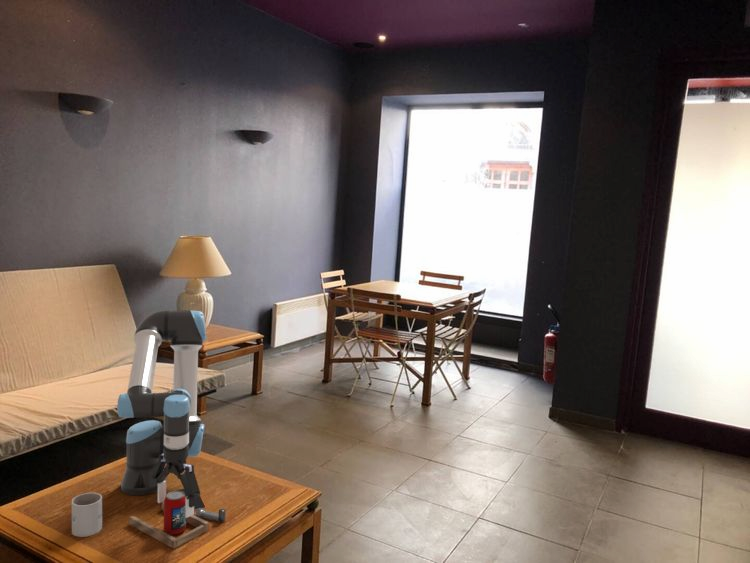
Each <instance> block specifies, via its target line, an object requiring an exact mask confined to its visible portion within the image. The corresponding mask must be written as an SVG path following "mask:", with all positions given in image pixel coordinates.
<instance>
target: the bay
mask: <svg viewBox="0 0 750 563" xmlns="http://www.w3.org/2000/svg"><path fill="white" fill-rule="evenodd" d="M161 511H164V501H163V502H161ZM186 523H188V524H191V525H192V526H195V528H193V529H191V530H190V531H188V532H186V533H184V534H182V535H179V536H178V537H174V536H173V535H171V534H169V533H166V532H165V531H164V530H161V529H159V528H157V527H155V526H153V525H151V524H149V523H148V522H146V521H144V520H142V519H140V518H138V517H137V516H135V515H131V516H129V525H130V526H132V527H133V528H135V529H137V530H139V531H141V532H142V533H144V534H146V535H148V536H150V537H151V538H154V539H156V540H157V541H159V542H161V543H162V544H164V545H166V546H168V547H170V548H172V549H176V548H178V547H180V546H181V545H183V544H185V543H187V542H189V541H191V540H193V539H194V538H197V537H198V536H200V535H202V534H204V533H206V532H208V531H209V529H210V522H209V521H207V520H205V519H203V518H202V517H197V516H196V514H193V515H191V516H189V517H188V518H187V517H186Z"/></svg>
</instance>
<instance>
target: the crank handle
mask: <svg viewBox="0 0 750 563" xmlns="http://www.w3.org/2000/svg"><path fill="white" fill-rule="evenodd" d="M226 511H227V510H226V509H225V508H220V509H218V513H217V512H214V511H213V512H212V511H209V510H206V509H203V508H198V509H197V510H196V511H195V516H197V517H199V518H202V519H203V518H204V519H208V520H212V521H216V522H218V523H225V522H226V514H227V513H226Z"/></svg>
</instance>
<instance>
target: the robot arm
mask: <svg viewBox="0 0 750 563" xmlns="http://www.w3.org/2000/svg"><path fill="white" fill-rule="evenodd" d="M206 332H207V330H206V323H205V315H204V312H202V311H201V310H200V311H199V310H183V309H182V310H166V309H165V310H164V309H163V310H157V311H154V312H152V313H151V314H148V315H147V316H146V317H145V318H144V319H143V320H142V321H141V322H140V323H139V324H138V326H137V328H136V330H135V333H134V336H133V342H134V344H135V346H134V354H133V358H132V364H131V369H130V374H129V381H128V386H127V392H124V393H121V394H120V395H119V396H118V398H117V404H116V405H117V406H116V407H117V411H116V412H117V415H118V416H119V418H124V419H125V418H126V419H127V418H129V419H131V418H132V419H133V418H150V417H151V418H153V417H155V418H156V417H158V418H159V417H163V425H162V423H161V421H159V420H155V419H154V420H153V419H152V420H145V421H140V422H138V423H135V424H133V425H132V426H130V427H129V429H127V432H126V439H125V443H126V446H125V447H126V457H125V458H126V462H125V463H126V466H125V471H124V473H123V476H122V480H121V482H120V483H121V484H120V490H121V492H123V493H124V494H127V495H131V496H145V495H150V494H155V493H157V503H158V504H160V503H161V504H162V502H164V500H165V498H166V496H167V479H166V478H168V476H169V475H170V474H174V475H175V476H176V478H177V479H179V480H180V483H181V485H182V487H183V489H184V490H185V492H186V494H187V497H186V512H185V517H187V518H188V517H189V516H191V515H195V511H194V506H195V497H197V496H199V495H201V490H200V488H199V483H198V480H197V477H196V474H195V466H194V464H193V463H190V464H187V459H188V458H193V457H195V458H196V457H198V456H199V455H200V454H201V449H202V444H203V437H204V433H205V432H204V431H205V424H204V423H201V421H202V420H201V418H200V416H198V415H197V408H198V406H197V405H198V372H199V351H200V350H201V349H202V347H203V345H204V344H203V343H204V342H206V341H207V333H206ZM162 342H170V343H169V344H170V345H169V346H170V348H172V350H173V352H174V354H173V383H172V386H173V387H172V391H171V392H153V386H154V380H155V379H154V378H155V370H156V365H157V358H158V357H157V356H158V350H159V347H160V345H161V346H162ZM190 492H191V494H190Z"/></svg>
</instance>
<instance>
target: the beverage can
mask: <svg viewBox="0 0 750 563" xmlns="http://www.w3.org/2000/svg"><path fill="white" fill-rule="evenodd" d="M163 502H164V510H163V532H165V533H167V534H169V535H178V534H181V533H182V532H184V531H185V529H186V528H187V522H186V517H185V512H186V496H185V495H184V492H182V491H176V490H173V491H169V492H168V493H166V498H165V500H164V501H163Z"/></svg>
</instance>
